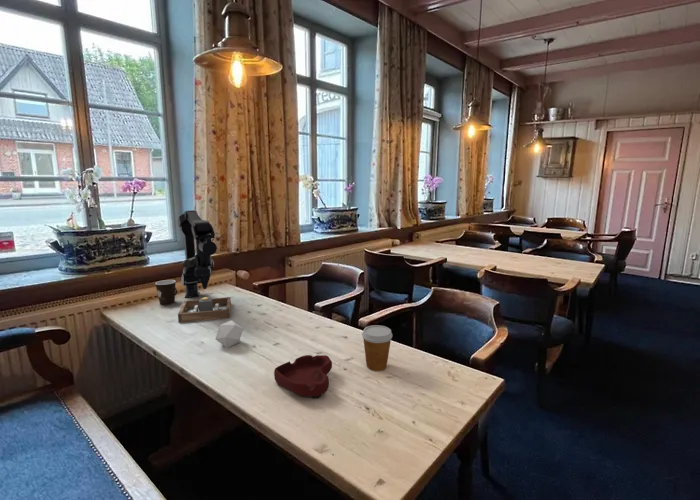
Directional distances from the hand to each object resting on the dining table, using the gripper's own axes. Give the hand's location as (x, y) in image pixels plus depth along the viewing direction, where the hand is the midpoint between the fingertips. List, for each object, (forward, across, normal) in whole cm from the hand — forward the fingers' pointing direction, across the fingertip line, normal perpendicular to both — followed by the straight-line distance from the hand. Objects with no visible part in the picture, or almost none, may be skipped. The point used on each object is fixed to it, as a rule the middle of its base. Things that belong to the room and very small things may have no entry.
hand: (205, 285), depth 166 cm
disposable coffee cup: (+11, +67, +56) cm, 88 cm away
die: (+11, +38, +11) cm, 41 cm away
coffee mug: (+12, -15, -19) cm, 27 cm away
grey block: (+12, +2, 0) cm, 12 cm away
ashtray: (+11, +71, +32) cm, 78 cm away
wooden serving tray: (+12, +2, 0) cm, 12 cm away
